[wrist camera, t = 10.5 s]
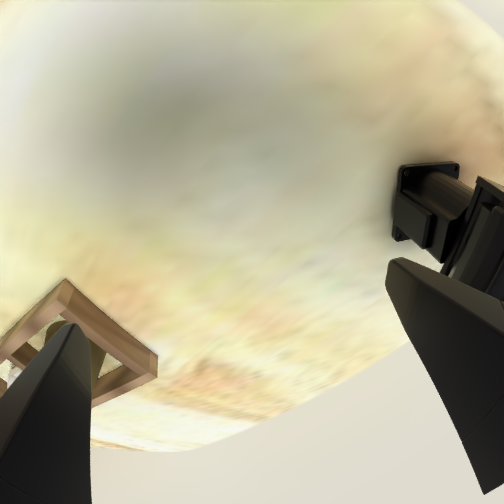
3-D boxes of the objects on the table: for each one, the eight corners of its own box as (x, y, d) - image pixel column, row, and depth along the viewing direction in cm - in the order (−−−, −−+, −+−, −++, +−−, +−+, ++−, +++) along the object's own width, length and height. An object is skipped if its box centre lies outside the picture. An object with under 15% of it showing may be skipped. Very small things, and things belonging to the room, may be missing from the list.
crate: (65, 278, 21) (56, 299, 19) (157, 356, 27) (157, 377, 25) (-23, 364, 24) (-30, 380, 22) (45, 412, 30) (42, 428, 28)
